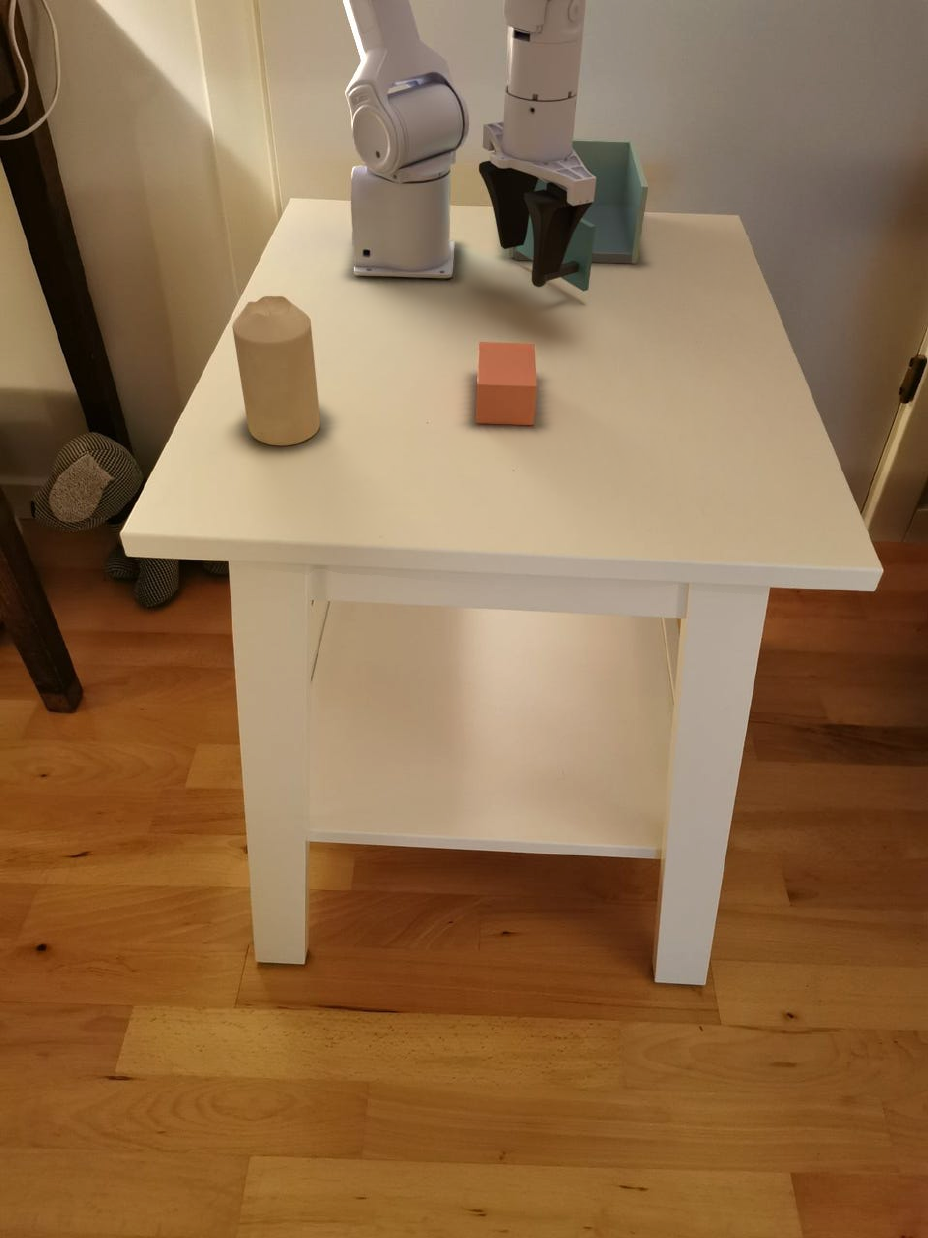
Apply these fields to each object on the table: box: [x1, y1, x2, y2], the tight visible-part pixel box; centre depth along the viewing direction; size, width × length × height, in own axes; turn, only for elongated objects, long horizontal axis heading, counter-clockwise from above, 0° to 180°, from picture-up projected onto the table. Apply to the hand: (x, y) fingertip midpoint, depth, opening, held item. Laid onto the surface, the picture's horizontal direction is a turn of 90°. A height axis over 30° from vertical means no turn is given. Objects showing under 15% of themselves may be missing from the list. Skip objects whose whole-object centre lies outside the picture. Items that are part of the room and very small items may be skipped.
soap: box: [475, 341, 538, 426], centre depth 77 cm, size 4×6×4 cm
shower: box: [507, 138, 649, 265], centre depth 99 cm, size 13×13×8 cm
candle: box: [231, 295, 321, 446], centre depth 71 cm, size 6×6×10 cm
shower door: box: [517, 215, 596, 292], centre depth 89 cm, size 10×6×6 cm, turn 34°
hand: (529, 258), depth 86 cm, fingers open, 5 cm apart
